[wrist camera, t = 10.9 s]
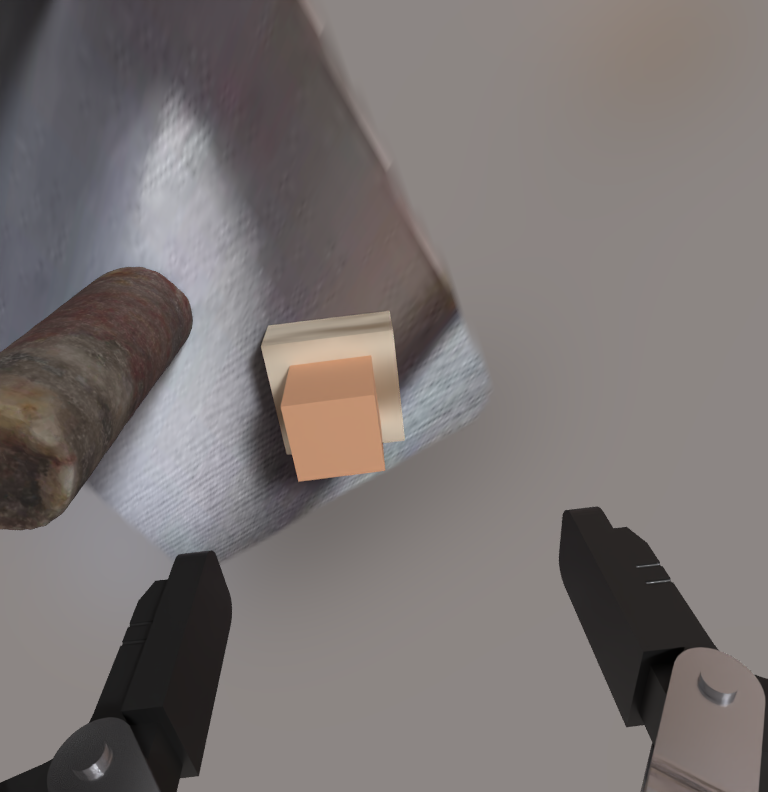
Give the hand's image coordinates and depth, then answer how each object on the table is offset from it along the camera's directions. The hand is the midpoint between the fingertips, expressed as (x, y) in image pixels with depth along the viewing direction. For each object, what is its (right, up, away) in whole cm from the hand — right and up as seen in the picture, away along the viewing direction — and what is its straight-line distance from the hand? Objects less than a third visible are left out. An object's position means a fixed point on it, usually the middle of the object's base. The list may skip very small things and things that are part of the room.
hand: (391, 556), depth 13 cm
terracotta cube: (-4, +4, +29) cm, 29 cm away
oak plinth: (-4, +6, +32) cm, 33 cm away
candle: (-18, +10, +29) cm, 36 cm away
